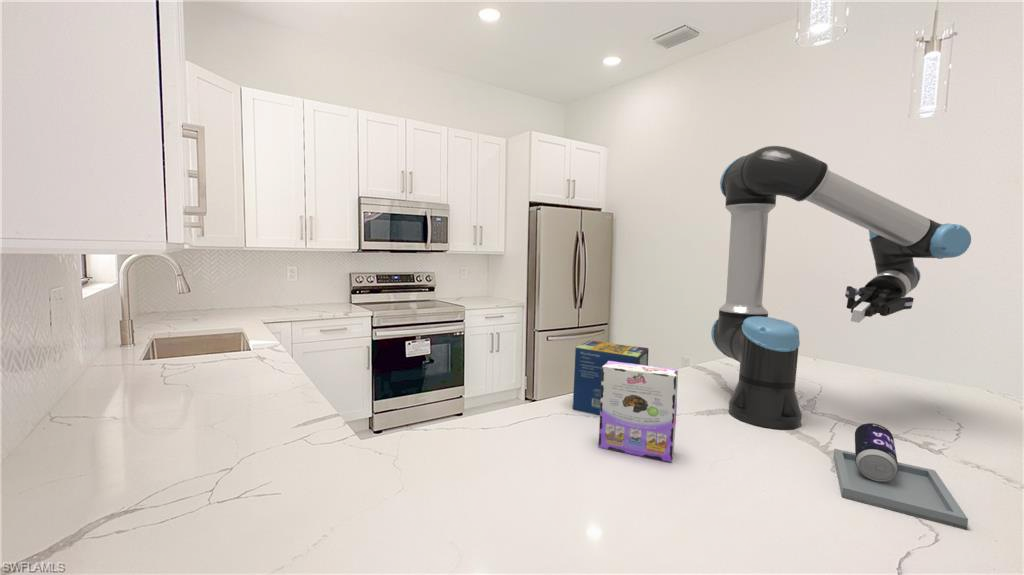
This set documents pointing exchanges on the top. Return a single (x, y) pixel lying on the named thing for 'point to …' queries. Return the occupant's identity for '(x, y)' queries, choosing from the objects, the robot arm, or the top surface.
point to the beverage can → (875, 452)
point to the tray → (900, 491)
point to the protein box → (599, 370)
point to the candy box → (638, 409)
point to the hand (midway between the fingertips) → (855, 316)
